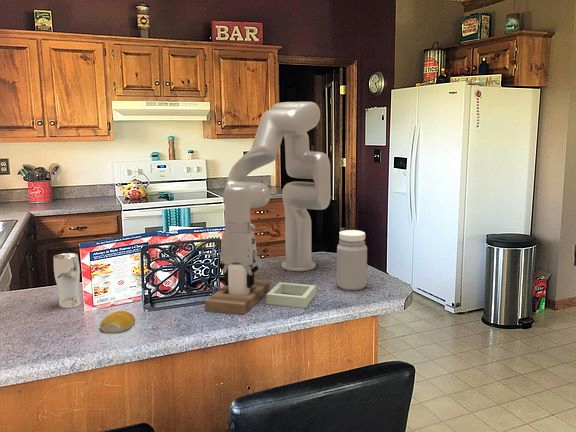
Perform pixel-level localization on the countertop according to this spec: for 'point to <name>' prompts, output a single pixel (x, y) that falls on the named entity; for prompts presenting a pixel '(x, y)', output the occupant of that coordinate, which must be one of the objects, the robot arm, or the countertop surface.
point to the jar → (351, 260)
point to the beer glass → (67, 279)
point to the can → (237, 280)
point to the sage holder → (291, 300)
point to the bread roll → (117, 322)
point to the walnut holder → (237, 299)
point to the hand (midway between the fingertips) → (239, 285)
